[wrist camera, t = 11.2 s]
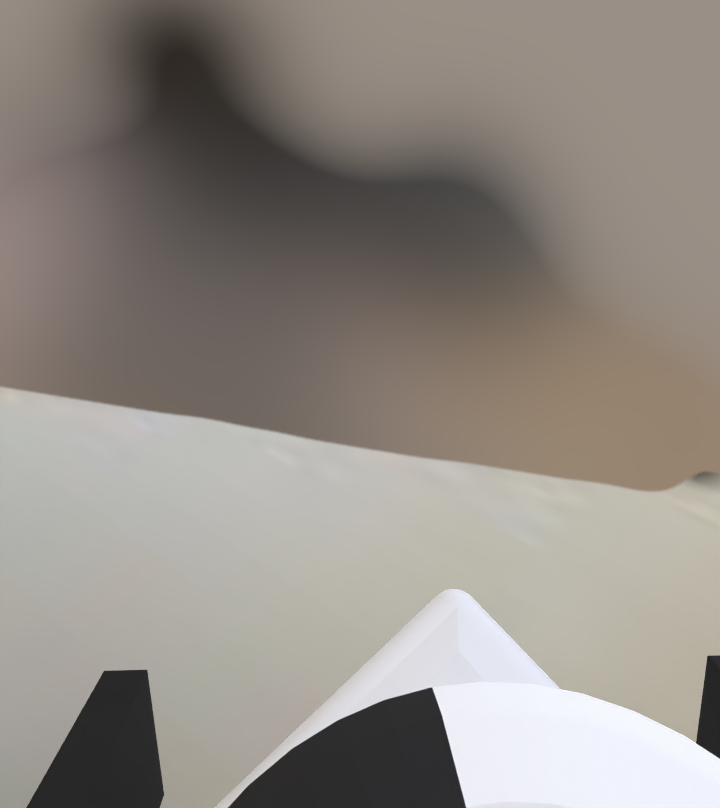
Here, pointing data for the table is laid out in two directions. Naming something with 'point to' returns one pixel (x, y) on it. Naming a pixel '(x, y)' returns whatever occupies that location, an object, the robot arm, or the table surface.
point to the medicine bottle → (474, 734)
